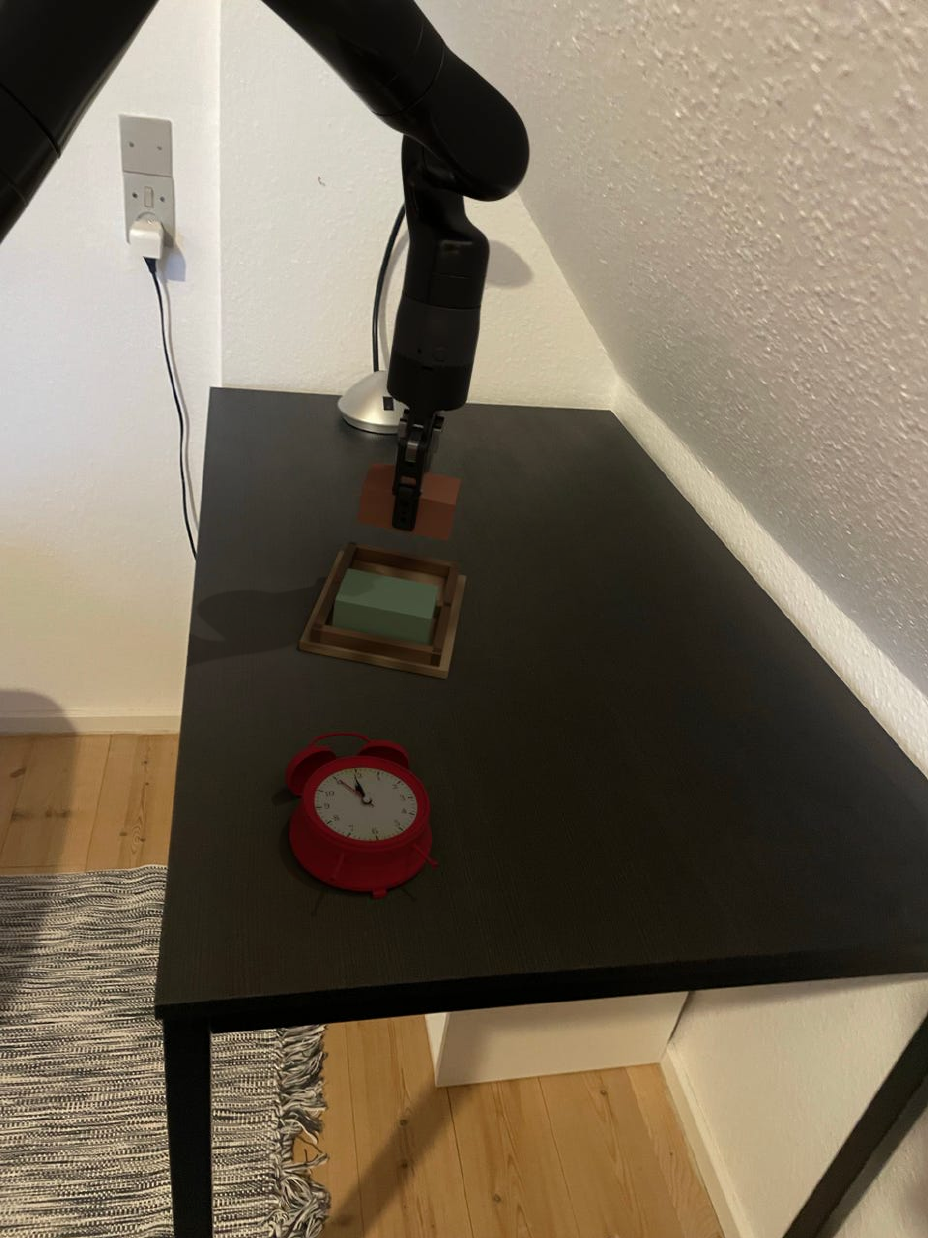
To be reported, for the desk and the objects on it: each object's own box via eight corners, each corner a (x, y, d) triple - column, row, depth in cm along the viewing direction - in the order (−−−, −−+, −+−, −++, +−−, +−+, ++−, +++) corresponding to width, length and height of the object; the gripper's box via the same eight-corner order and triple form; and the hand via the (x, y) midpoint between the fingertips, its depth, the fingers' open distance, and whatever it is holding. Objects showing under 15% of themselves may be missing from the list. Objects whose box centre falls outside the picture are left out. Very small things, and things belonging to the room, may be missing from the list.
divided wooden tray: (298, 650, 87) (300, 627, 86) (338, 557, 103) (341, 537, 101) (446, 679, 88) (451, 658, 86) (465, 583, 103) (469, 563, 101)
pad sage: (330, 635, 89) (334, 599, 86) (343, 602, 94) (347, 567, 92) (424, 654, 89) (431, 618, 87) (432, 620, 94) (439, 586, 92)
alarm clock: (311, 881, 61) (277, 698, 70) (300, 926, 65) (268, 747, 74) (462, 860, 65) (410, 689, 74) (441, 903, 69) (395, 736, 78)
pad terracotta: (356, 522, 91) (361, 485, 89) (368, 496, 96) (372, 460, 94) (448, 541, 91) (455, 504, 89) (454, 514, 96) (461, 478, 94)
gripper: (404, 317, 91) (382, 476, 100) (379, 363, 78) (356, 539, 87) (481, 333, 91) (452, 490, 100) (467, 381, 78) (436, 555, 88)
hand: (407, 512), depth 94 cm, fingers closed on pad terracotta, 6 cm apart
